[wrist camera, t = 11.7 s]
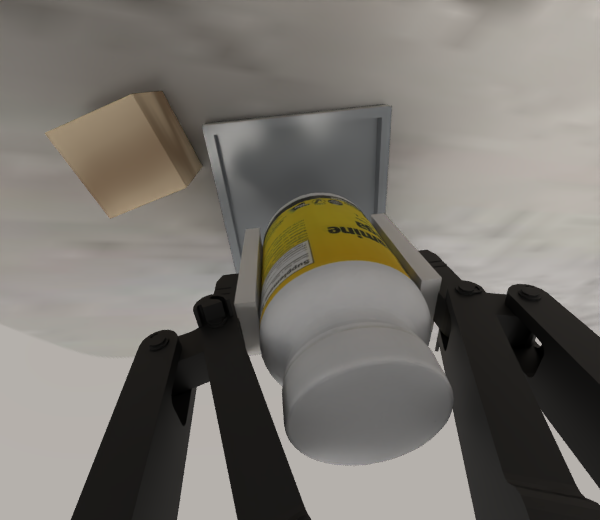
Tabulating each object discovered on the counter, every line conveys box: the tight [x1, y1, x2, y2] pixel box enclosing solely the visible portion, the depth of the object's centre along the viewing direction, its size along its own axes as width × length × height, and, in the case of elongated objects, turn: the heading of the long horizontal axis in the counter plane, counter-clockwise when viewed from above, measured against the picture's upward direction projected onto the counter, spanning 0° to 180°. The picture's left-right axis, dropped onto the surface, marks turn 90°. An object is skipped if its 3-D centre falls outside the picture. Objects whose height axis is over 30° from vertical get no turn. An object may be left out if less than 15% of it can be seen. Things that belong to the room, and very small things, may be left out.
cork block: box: [45, 91, 202, 218], centre depth 18 cm, size 5×5×5 cm
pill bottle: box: [259, 193, 454, 465], centre depth 13 cm, size 6×6×11 cm
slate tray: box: [202, 104, 392, 274], centre depth 23 cm, size 12×12×2 cm
